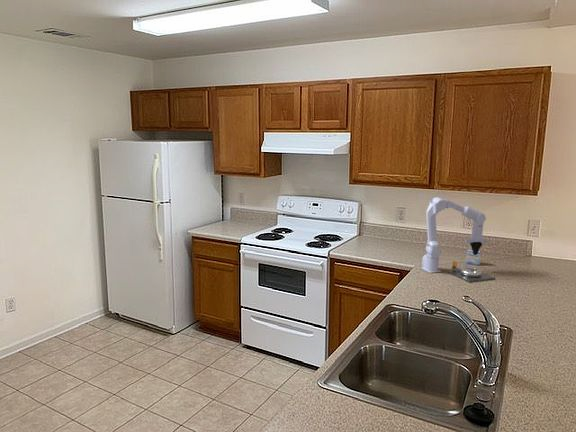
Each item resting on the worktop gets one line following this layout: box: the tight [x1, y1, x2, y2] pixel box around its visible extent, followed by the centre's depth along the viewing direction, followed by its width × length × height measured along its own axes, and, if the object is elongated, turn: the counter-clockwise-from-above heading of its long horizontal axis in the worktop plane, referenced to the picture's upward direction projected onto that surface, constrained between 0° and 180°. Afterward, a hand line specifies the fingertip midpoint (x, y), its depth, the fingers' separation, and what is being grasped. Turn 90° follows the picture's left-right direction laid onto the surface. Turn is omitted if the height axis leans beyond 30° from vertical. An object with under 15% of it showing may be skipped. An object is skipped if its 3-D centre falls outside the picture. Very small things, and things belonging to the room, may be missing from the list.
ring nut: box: [451, 261, 482, 277], centre depth 257 cm, size 18×11×4 cm, turn 36°
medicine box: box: [465, 249, 482, 266], centre depth 278 cm, size 8×4×9 cm, turn 62°
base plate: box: [447, 269, 496, 284], centre depth 255 cm, size 18×18×1 cm
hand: (475, 254), depth 262 cm, fingers closed
